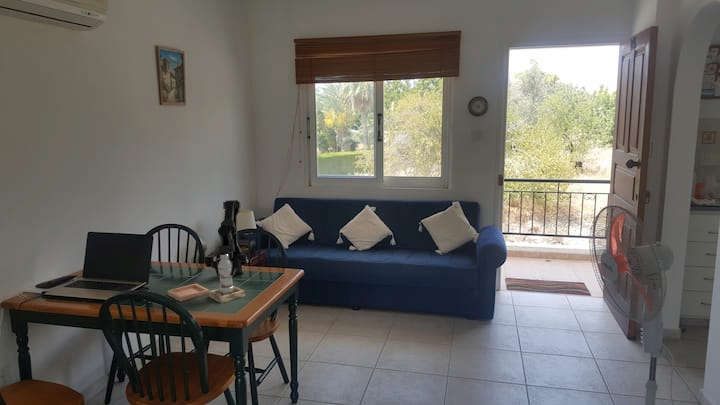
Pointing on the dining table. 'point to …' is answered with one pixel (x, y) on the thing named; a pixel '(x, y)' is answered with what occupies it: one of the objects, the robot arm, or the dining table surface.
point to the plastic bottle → (225, 275)
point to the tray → (188, 292)
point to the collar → (216, 295)
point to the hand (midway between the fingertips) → (225, 277)
